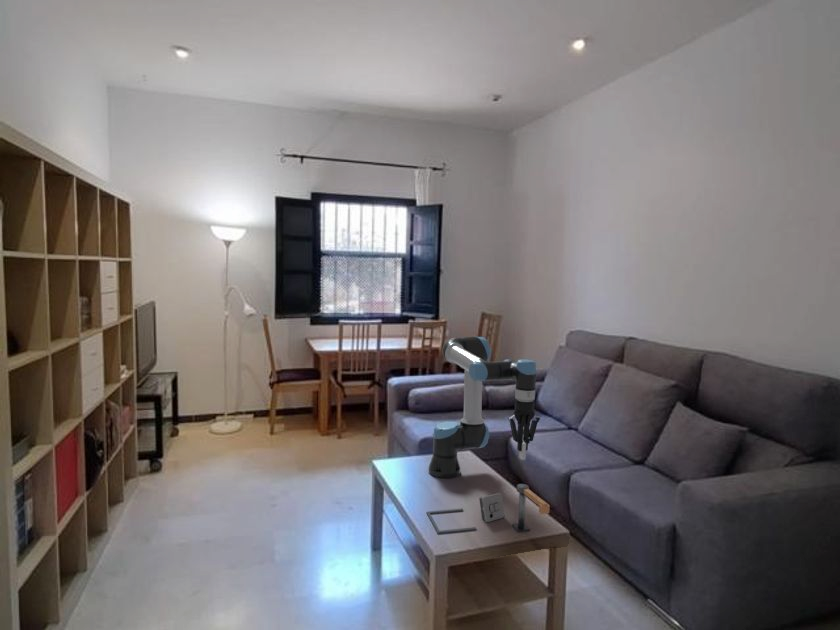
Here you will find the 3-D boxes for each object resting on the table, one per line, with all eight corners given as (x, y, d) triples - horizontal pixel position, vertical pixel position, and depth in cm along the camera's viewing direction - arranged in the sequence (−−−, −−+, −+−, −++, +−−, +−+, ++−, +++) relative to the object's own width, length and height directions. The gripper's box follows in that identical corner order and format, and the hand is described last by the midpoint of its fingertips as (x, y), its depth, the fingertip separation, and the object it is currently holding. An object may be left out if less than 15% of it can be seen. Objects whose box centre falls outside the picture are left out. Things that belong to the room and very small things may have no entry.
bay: (426, 513, 197) (426, 511, 197) (462, 509, 200) (462, 508, 200) (437, 533, 181) (437, 532, 181) (476, 530, 185) (476, 528, 185)
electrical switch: (486, 523, 190) (485, 499, 190) (477, 518, 195) (477, 495, 195) (505, 517, 195) (504, 494, 195) (496, 513, 199) (496, 490, 199)
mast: (511, 525, 189) (513, 489, 188) (524, 524, 190) (525, 488, 189) (517, 532, 184) (519, 495, 183) (530, 531, 185) (531, 494, 184)
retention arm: (514, 493, 187) (514, 484, 187) (524, 492, 189) (524, 483, 189) (539, 514, 171) (540, 504, 171) (550, 512, 173) (551, 503, 173)
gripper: (513, 402, 189) (510, 463, 190) (544, 401, 192) (541, 461, 194) (505, 397, 196) (502, 456, 198) (535, 396, 199) (532, 454, 201)
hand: (522, 458), depth 196 cm, fingers closed
